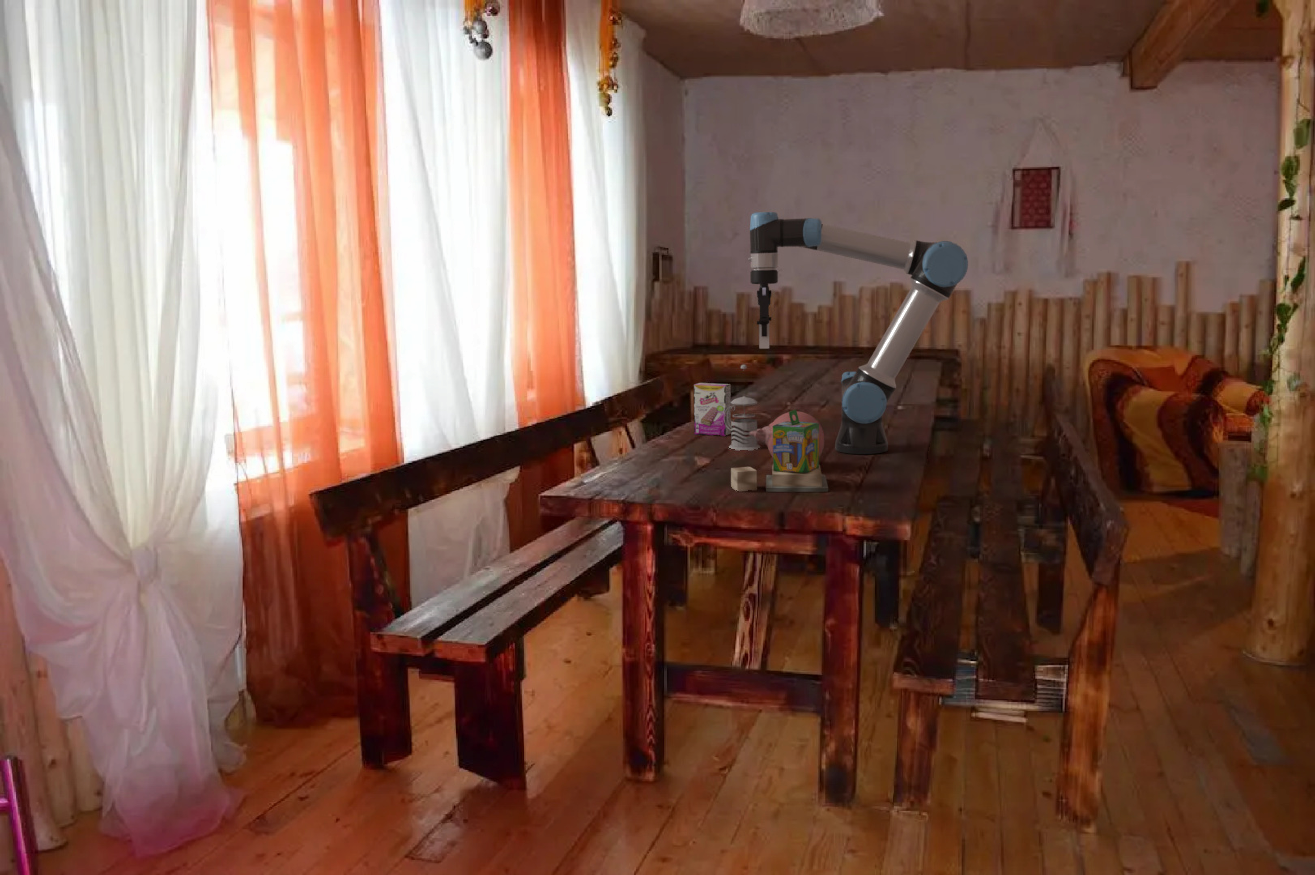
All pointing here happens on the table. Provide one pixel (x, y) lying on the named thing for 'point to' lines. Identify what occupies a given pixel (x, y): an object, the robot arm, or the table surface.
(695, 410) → the candy bar box
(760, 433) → the balloon
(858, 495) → the table surface
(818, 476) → the plinth
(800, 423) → the chalk box
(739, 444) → the french press
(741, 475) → the birch block
